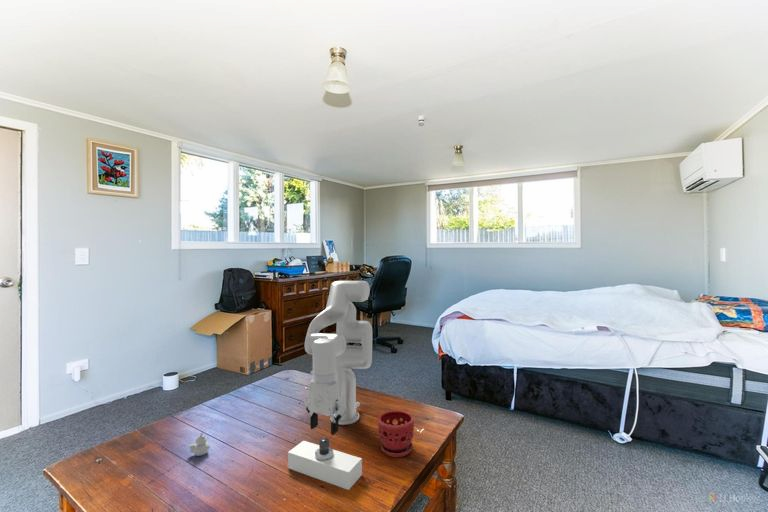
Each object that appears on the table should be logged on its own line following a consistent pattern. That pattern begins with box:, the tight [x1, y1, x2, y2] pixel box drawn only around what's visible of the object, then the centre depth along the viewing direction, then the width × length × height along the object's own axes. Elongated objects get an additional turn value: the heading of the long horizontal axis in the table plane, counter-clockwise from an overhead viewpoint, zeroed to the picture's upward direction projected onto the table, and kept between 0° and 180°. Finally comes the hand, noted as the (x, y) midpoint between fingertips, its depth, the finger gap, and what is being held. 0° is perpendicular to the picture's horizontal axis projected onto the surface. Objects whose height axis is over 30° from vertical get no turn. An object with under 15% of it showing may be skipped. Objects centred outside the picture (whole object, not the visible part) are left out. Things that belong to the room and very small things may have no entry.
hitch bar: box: [287, 440, 363, 491], centre depth 114 cm, size 8×24×5 cm, turn 63°
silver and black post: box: [315, 437, 334, 461], centre depth 114 cm, size 6×6×10 cm
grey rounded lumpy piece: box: [188, 432, 211, 457], centre depth 124 cm, size 5×7×8 cm
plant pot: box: [377, 410, 415, 458], centre depth 126 cm, size 13×13×12 cm
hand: (324, 429), depth 114 cm, fingers open, 7 cm apart
